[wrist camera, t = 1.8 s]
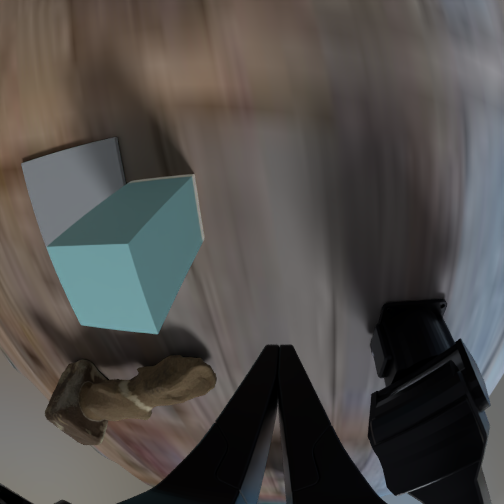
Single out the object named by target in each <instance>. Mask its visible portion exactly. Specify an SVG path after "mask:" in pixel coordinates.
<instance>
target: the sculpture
mask: <svg viewBox="0 0 504 504" xmlns="http://www.w3.org/2000/svg"><path fill="white" fill-rule="evenodd" d="M137 370H138V372H139V374H138V375H137V376H135V377H134V378H132V379H131V380H119V379H116V380H107V379H106V378H105V377H104V376H103V375H102V374H101V373H100V372H99V371H98V370H97V369H96V367H95V366H94V364H93V363H91V362H90V361H88V360H85V359H81V360H79V361H77V362H75V363H71V364H69V365H68V366H67V368H66V370H65V371H64V372H63V373H62V375H61V377H60V380H59V382H58V384H57V387H56V388H55V390H54V392H53V394H52V397H51V399H50V401H49V404H48V406H47V408H46V410H45V416H46V418H47V420H49V421H50V422H52V423H53V424H54V425H55V426H56V427H58V428H59V429H60V430H62V431H63V432H64V433H66V434H68V435H69V436H70V437H72V438H73V439H75V440H76V441H77V442H79V443H81V444H83V445H99V444H101V443H102V441H103V438H104V434H105V431H106V428H107V423H108V421H120V420H123V419H128V418H134V419H142V420H148V419H149V418H150V416H151V414H152V412H151V409H152V408H154V407H155V406H167V405H172V404H178V403H183V402H185V401H187V400H190V399H192V398H195V397H199V396H203V395H205V394H206V393H208V392H209V391H210V390H211V389H213V388H214V387H215V384H216V381H217V378H216V374H215V373H214V371H213V370H212V368H211V366H210V365H208V364H206V363H205V362H203V360H202V359H201V358H193V357H182V356H181V355H175V356H172V355H170V356H168V357H167V358H164V359H163V360H162V361H161V362H159V363H158V364H157V365H155V366H145V367H141V368H138V369H137Z"/></svg>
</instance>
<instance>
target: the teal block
mask: <svg viewBox="0 0 504 504" xmlns="http://www.w3.org/2000/svg"><path fill="white" fill-rule="evenodd" d="M203 240H204V232H203V226H202V220H201V214H200V207H199V201H198V194H197V188H196V181H195V174H187V175H177V176H167V177H158V178H149V179H141V180H133V181H130V182H129V183H127V184H126V185H125V186H123V187H122V188H120V189H119V190H118V191H116V192H115V193H113V194H112V195H111V196H109V197H108V198H107V199H105V200H104V201H102V202H101V203H100V204H98V205H97V206H96V207H95V208H93V209H92V210H91V211H89V212H88V213H87V214H85V215H84V216H83V217H82V218H80V219H79V220H78V221H77V222H75V223H74V224H73V225H72V226H70V227H69V228H68V229H67V230H66V231H64V232H63V233H62V234H61V235H60V236H58V237H57V238H56V239H55V240H54V241H53V242H51V243H50V244H49V245H48V246H47V250H48V252H49V255H50V258H51V260H52V263H53V265H54V268H55V270H56V272H57V275H58V277H59V279H60V282H61V284H62V286H63V289H64V291H65V293H66V295H67V297H68V299H69V302H70V304H71V306H72V308H73V310H74V312H75V314H76V316H77V318H78V320H79V322H80V324H81V325H84V326H91V327H98V328H106V329H114V330H122V331H131V332H141V333H151V334H158V333H159V331H160V329H161V327H162V325H163V323H164V320H165V318H166V316H167V314H168V312H169V310H170V308H171V305H172V303H173V301H174V299H175V297H176V295H177V293H178V291H179V289H180V287H181V285H182V283H183V281H184V278H185V276H186V274H187V272H188V270H189V268H190V266H191V264H192V262H193V260H194V258H195V256H196V254H197V252H198V250H199V248H200V246H201V244H202V242H203Z"/></svg>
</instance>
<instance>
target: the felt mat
mask: <svg viewBox="0 0 504 504" xmlns="http://www.w3.org/2000/svg"><path fill="white" fill-rule="evenodd" d="M21 165H22V169H23V173H24V177H25V181H26V185H27V189H28V192H29V196H30V199H31V203H32V206H33V210H34V213H35V216H36V219H37V222H38V225H39V228H40V231H41V234H42V237H43V240H44V242H45V245H46V248H47V246H48V245H49V244H50V243H51V242H53V241H54V240H55V239H56V238H57V237H58V236H60V235H61V234H62V233H63V232H64V231H66V230H67V229H68V228H69V227H70V226H72V225H73V224H74V223H75V222H77V221H78V220H79V219H80V218H82V217H83V216H84V215H85V214H87V213H88V212H89V211H91V210H92V209H93V208H95V207H96V206H97V205H98V204H100V203H101V202H102V201H104V200H105V199H107V198H108V197H109V196H111V195H112V194H113V193H115V192H116V191H118V190H119V189H120V188H122V187H123V186H125V185H126V181H125V176H124V171H123V166H122V161H121V156H120V150H119V145H118V139H117V137H113V138H109V139H104V140H100V141H96V142H92V143H88V144H84V145H80V146H76V147H73V148H69V149H65V150H62V151H58V152H55V153H52V154H48V155H45V156H42V157H39V158H36V159H33V160H30V161H27V162H24V163H22V164H21ZM48 253H49V252H48ZM49 256H50V255H49ZM51 261H52V260H51ZM53 266H54V265H53ZM55 271H56V270H55ZM56 273H57V272H56Z"/></svg>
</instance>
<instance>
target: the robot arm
mask: <svg viewBox="0 0 504 504" xmlns="http://www.w3.org/2000/svg"><path fill="white" fill-rule="evenodd" d="M446 307H447V302H446V301H445V300H444V299H437V300H424V301H410V302H394V303H386V304H384V305H383V307H382V311H381V315H380V319H379V323H378V324H377V325H376V326H375V330H374V334H373V338H372V341H371V348H372V350H371V352H372V355H373V356H374V361H375V365H376V370H377V374H378V377H379V378H384V380H385V385H386V387H385V388H384V389H382V390H380V391H376V392H374V393H372V394H371V406H370V417H369V427H368V439H369V440H370V444H371V446H372V448H373V450H374V452H375V453H376V455H377V456H378V458H379V460H380V463H381V465H382V468H383V472H384V476H385V481H386V485H387V488H388V489H389V490H390V491H391V492H392V493H393V494H394V495H395V496H399V495H402V494H405V493H408V494H409V495H411V496H412V497H414V498H415V499H417V500H418V501H420V502H422V503H423V504H491V500H490V495H489V492H488V488H487V484H486V481H485V477H484V474H483V471H482V462H483V458H484V454H485V449H486V445H487V440H488V435H489V430H490V424H489V421H488V419H487V416H486V413H485V409H486V408H488V407H490V406H491V404H490V400H489V396H488V393H487V389H486V385H485V382H484V379H483V377H482V375H481V373H480V371H479V368H478V366H477V364H476V362H475V360H474V359H473V357H472V355H471V354H470V352H469V351H468V349H467V347H466V346H465V344H464V343H463V341H462V340H461V338H460V339H459V340H458V341H456V342H454V340H453V338H452V336H451V333H450V331H449V329H448V327H447V325H446V323H445V321H444V319H443V315H444V312H445V310H446ZM388 308H389V309H388ZM277 407H278V410H279V423H280V434H281V445H282V457H283V469H284V481H285V493H286V504H387V503H386V502H384V501H383V500H382V499H381V498H380V497H379V496H378V495H377V494H376V493H375V491H374V490H373V489H372V488H371V486H370V485H369V483H368V482H367V481H366V479H365V478H364V477H363V475H362V474H361V472H360V471H359V470H358V468H357V467H356V465H355V464H354V463H353V461H352V460H351V458H350V457H349V455H348V453H347V452H346V450H345V449H344V447H343V445H342V444H341V442H340V440H339V438H338V436H337V434H336V432H335V430H334V428H333V426H331V422H330V420H329V418H328V416H327V414H326V412H325V410H324V408H323V406H322V404H321V402H320V400H319V398H318V396H317V394H316V392H315V390H314V388H313V386H312V384H311V382H310V380H309V377H308V375H307V373H306V371H305V369H304V367H303V365H302V363H301V361H300V359H299V357H298V355H297V353H296V351H295V349H294V347H293V345H280V347H279V345H266V346H265V347H264V349H263V350H262V352H261V354H260V355H259V357H258V358H257V360H256V361H255V363H254V365H253V366H252V368H251V369H250V371H249V372H248V374H247V375H246V377H245V378H244V380H243V381H242V383H241V384H240V386H239V387H238V389H237V390H236V392H235V393H234V395H233V396H232V398H231V399H230V401H229V402H228V404H227V405H226V407H225V408H224V410H223V411H222V412H221V414H220V415H219V417H218V418H217V420H216V423H214V424H213V425H212V427H211V428H210V429H209V431H208V432H207V433H206V435H205V436H204V437H203V439H202V440H201V441H200V443H199V444H198V445H197V446H196V447H195V448H194V449H193V450H192V451H191V453H190V454H189V455H188V456H187V457H186V458H185V459H184V460H183V461H182V462H181V463H180V464H179V465H178V466H177V467H176V468H175V469H174V470H173V471H172V472H171V473H170V474H169V475H168V476H167V477H166V478H165V479H163V480H162V481H161V482H160V483H159V484H157V485H156V486H155V487H153V488H152V489H150V490H148V491H146V492H144V493H141V494H139V495H137V496H134V497H132V498H130V499H127V500H125V501H122V502H120V503H117V504H257V502H258V497H259V493H260V489H261V485H262V480H263V476H264V471H265V467H266V462H267V458H268V453H269V448H270V444H271V439H272V434H273V429H274V424H275V419H276V414H277ZM0 504H33V503H31V502H30V501H28V500H27V499H25V498H23V497H22V496H20V495H19V494H17V493H15V492H14V491H12V490H10V489H9V488H7V487H5V486H4V485H2V484H1V483H0ZM54 504H71V503H69V502H67V501H65V500H60V501H58V502H56V503H54Z"/></svg>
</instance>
